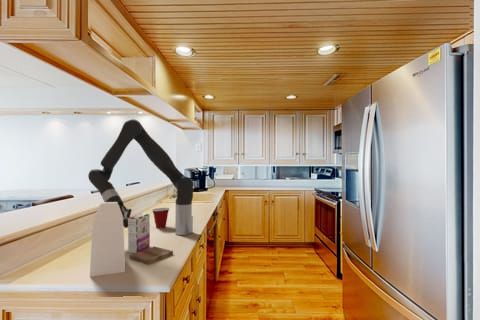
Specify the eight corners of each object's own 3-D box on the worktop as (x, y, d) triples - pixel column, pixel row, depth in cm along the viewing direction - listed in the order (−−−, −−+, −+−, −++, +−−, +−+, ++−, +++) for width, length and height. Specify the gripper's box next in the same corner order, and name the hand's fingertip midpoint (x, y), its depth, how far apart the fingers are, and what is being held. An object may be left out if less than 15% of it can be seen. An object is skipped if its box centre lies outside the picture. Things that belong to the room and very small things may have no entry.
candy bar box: (140, 245, 136) (141, 212, 136) (149, 246, 135) (150, 213, 135) (127, 253, 125) (127, 217, 125) (137, 254, 124) (137, 218, 124)
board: (154, 249, 131) (154, 246, 131) (172, 254, 125) (172, 250, 125) (129, 258, 119) (129, 255, 119) (148, 264, 113) (148, 260, 113)
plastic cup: (158, 224, 180) (158, 206, 180) (172, 226, 177) (172, 207, 177) (147, 228, 170) (148, 209, 170) (162, 230, 167) (163, 210, 167)
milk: (89, 276, 100) (90, 205, 100) (92, 265, 111) (93, 201, 111) (125, 271, 105) (125, 203, 105) (124, 261, 116) (125, 199, 116)
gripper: (103, 196, 134) (119, 224, 128) (126, 193, 145) (142, 219, 139) (97, 206, 137) (112, 234, 130) (120, 202, 148) (135, 228, 142)
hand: (127, 226), depth 135 cm, fingers closed
